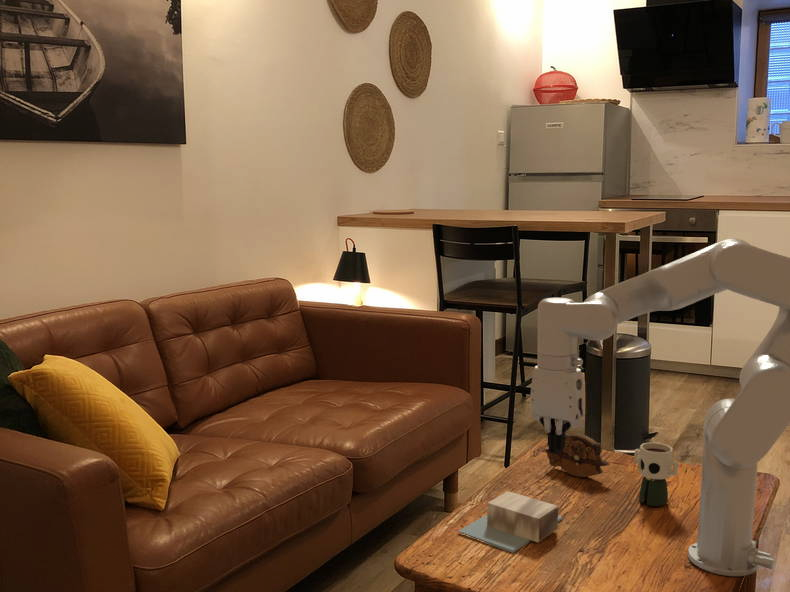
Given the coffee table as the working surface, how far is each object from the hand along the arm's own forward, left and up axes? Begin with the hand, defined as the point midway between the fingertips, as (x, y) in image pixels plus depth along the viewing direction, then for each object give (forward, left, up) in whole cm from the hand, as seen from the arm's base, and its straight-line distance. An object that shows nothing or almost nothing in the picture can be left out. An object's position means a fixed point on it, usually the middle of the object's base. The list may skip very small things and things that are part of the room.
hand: (556, 451), depth 162 cm
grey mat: (+10, 0, -19) cm, 21 cm away
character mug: (-8, -31, -19) cm, 37 cm away
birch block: (+1, 0, -16) cm, 16 cm away
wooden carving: (+13, -35, -19) cm, 42 cm away
